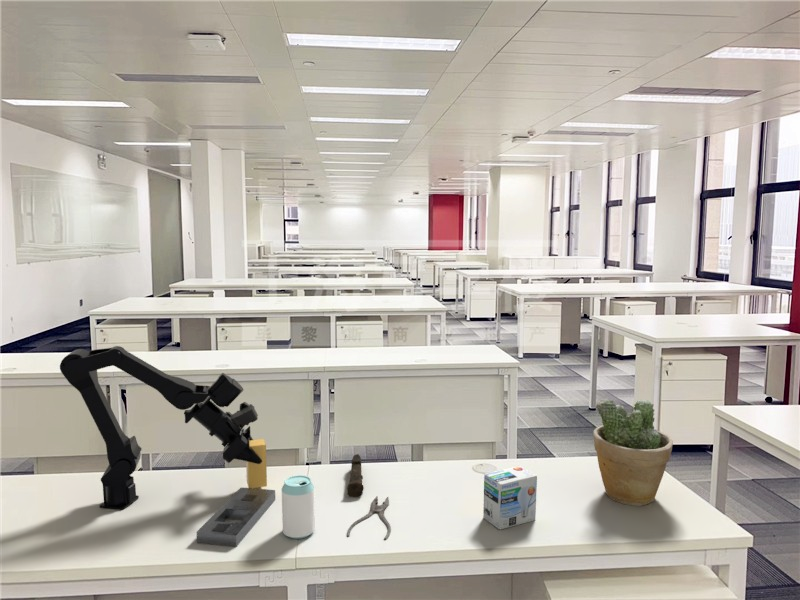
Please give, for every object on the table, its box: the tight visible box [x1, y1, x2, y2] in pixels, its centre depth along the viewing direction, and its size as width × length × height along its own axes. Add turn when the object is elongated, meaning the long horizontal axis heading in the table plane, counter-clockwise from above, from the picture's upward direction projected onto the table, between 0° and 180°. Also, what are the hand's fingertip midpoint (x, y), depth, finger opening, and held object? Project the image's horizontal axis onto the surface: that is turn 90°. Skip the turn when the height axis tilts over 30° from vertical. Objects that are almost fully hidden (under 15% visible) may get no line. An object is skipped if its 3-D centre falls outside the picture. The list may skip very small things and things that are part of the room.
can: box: [281, 474, 316, 540], centre depth 131 cm, size 7×7×12 cm
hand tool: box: [346, 453, 365, 498], centre depth 157 cm, size 19×4×5 cm, turn 0°
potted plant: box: [592, 398, 674, 507], centre depth 147 cm, size 18×19×25 cm
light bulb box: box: [482, 465, 538, 530], centre depth 137 cm, size 11×7×11 cm, turn 117°
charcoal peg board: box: [196, 487, 276, 548], centre depth 137 cm, size 9×22×3 cm, turn 170°
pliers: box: [346, 495, 392, 541], centre depth 138 cm, size 10×1×20 cm
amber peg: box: [245, 438, 268, 489], centre depth 152 cm, size 4×4×11 cm
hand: (261, 458), depth 152 cm, fingers closed on amber peg, 5 cm apart
